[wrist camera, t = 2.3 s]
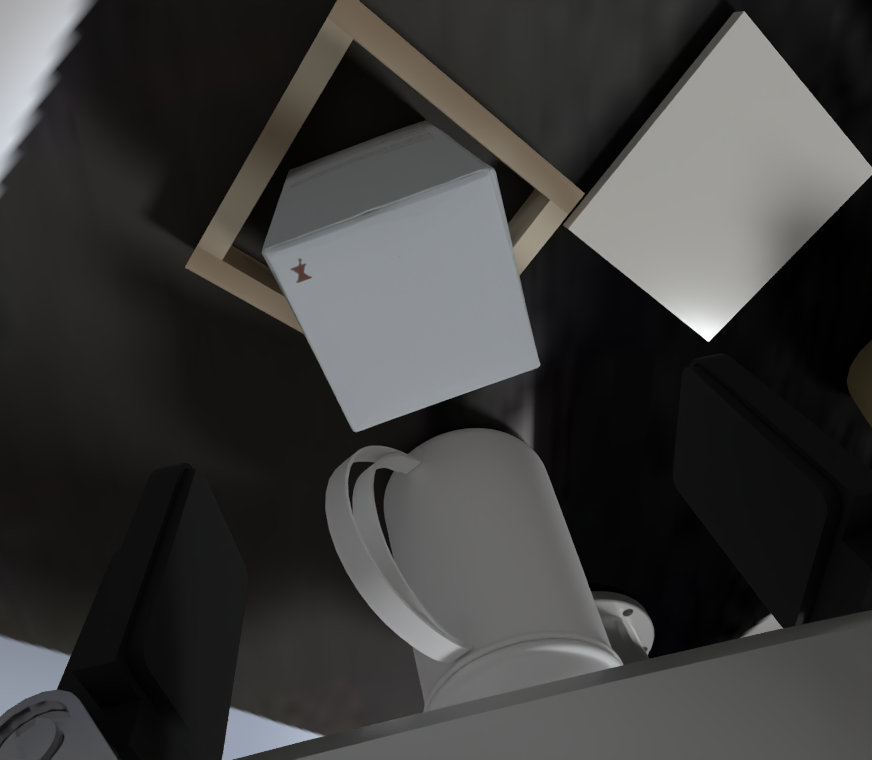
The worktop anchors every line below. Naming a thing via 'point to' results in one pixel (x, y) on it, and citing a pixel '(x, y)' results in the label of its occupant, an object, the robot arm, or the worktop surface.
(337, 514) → the coffeepot
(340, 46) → the wooden frame
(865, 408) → the squeeze bottle
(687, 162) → the tile
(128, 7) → the worktop surface
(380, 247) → the supplement box
